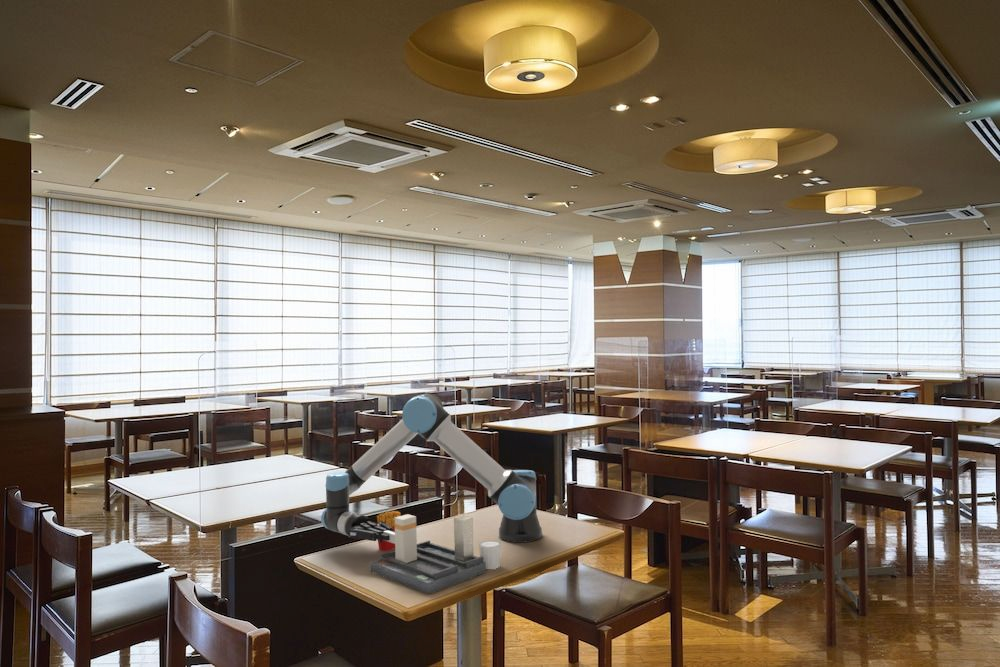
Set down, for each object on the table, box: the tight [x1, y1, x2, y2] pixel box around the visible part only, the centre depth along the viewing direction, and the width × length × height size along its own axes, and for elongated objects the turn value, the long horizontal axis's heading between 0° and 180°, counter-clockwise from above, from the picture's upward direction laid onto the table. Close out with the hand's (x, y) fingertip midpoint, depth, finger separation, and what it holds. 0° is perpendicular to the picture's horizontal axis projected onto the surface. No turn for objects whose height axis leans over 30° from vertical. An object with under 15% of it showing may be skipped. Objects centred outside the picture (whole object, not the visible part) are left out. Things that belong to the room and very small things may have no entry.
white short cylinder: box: [478, 540, 502, 570], centre depth 201 cm, size 7×7×7 cm
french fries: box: [375, 510, 402, 552], centre depth 222 cm, size 8×4×12 cm, turn 129°
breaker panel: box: [370, 515, 487, 595], centre depth 197 cm, size 22×27×16 cm
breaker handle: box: [394, 513, 418, 563], centre depth 199 cm, size 5×4×13 cm
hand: (398, 539), depth 200 cm, fingers closed
